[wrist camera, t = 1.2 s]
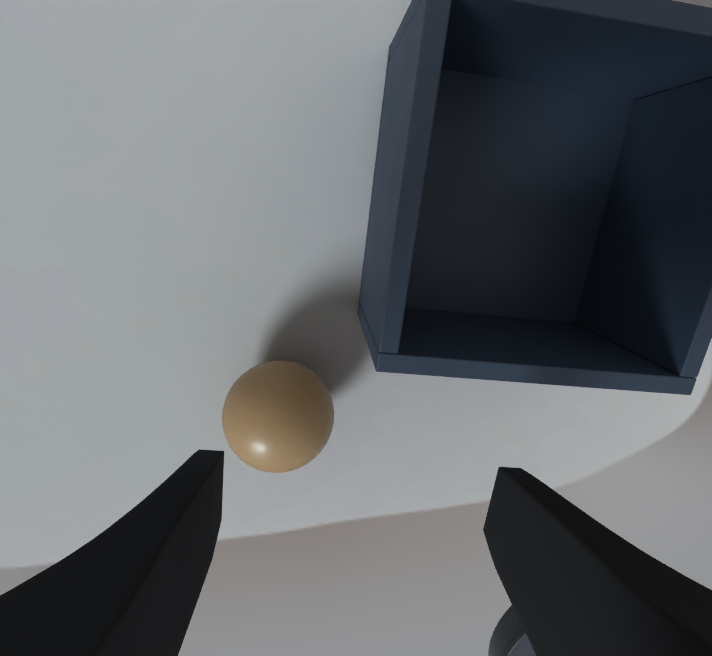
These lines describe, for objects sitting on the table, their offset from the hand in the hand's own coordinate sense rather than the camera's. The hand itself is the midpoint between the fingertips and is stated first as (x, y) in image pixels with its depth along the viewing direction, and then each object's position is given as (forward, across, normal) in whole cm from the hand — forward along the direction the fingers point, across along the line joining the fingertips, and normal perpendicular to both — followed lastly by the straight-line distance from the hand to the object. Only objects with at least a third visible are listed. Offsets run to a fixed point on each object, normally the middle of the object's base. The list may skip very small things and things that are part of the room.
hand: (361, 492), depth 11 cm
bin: (+9, -5, -8) cm, 13 cm away
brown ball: (+9, +2, +2) cm, 9 cm away
